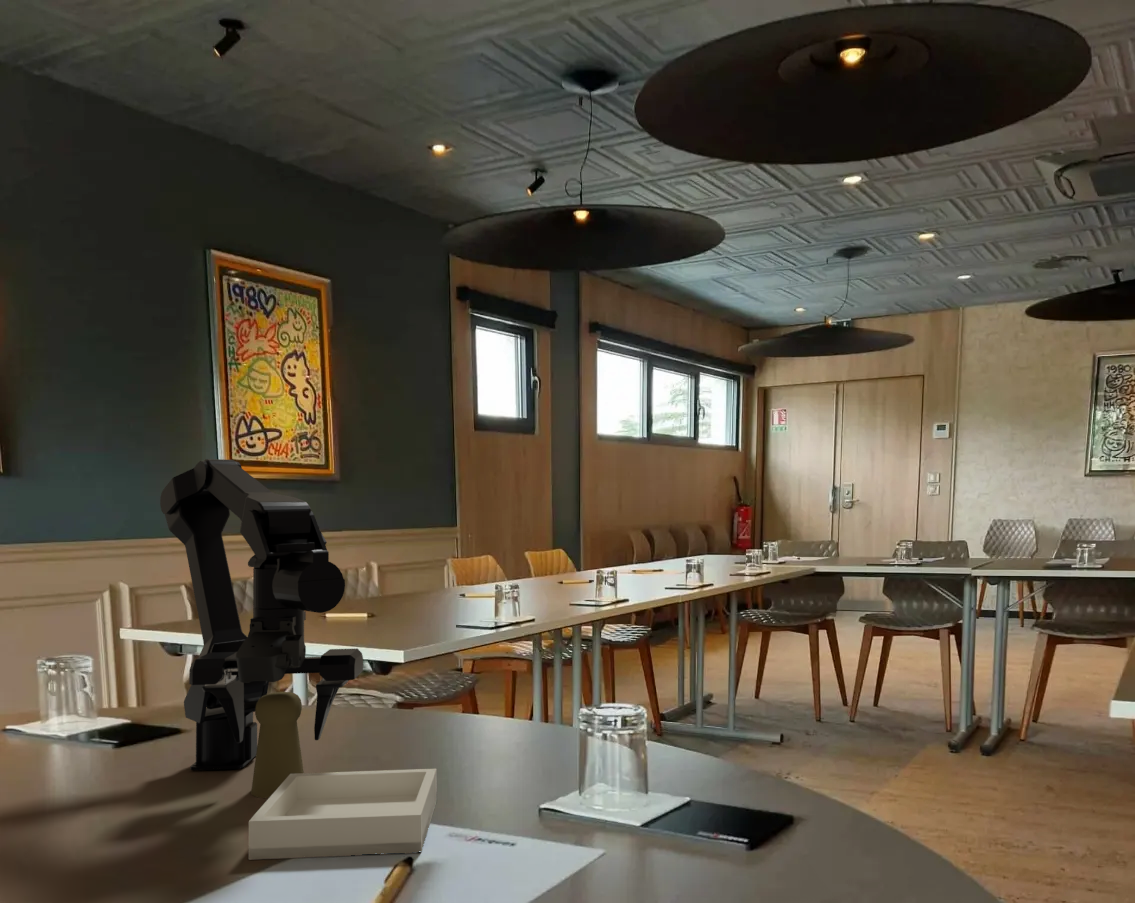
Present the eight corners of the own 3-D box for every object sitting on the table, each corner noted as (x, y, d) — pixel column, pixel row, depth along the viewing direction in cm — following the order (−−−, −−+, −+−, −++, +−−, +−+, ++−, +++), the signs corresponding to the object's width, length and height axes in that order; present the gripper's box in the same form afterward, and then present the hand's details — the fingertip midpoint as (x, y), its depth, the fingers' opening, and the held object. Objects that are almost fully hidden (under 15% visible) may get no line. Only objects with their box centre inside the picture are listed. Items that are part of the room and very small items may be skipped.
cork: (288, 799, 95) (288, 700, 96) (240, 796, 96) (240, 698, 97) (315, 781, 101) (315, 688, 101) (269, 779, 102) (269, 687, 103)
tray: (248, 859, 79) (248, 821, 79) (290, 806, 93) (290, 773, 93) (421, 852, 79) (420, 814, 80) (436, 800, 93) (436, 768, 94)
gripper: (169, 617, 91) (168, 764, 90) (344, 613, 92) (344, 758, 91) (208, 605, 102) (207, 736, 101) (363, 601, 103) (364, 731, 102)
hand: (278, 740), depth 99 cm, fingers open, 9 cm apart
